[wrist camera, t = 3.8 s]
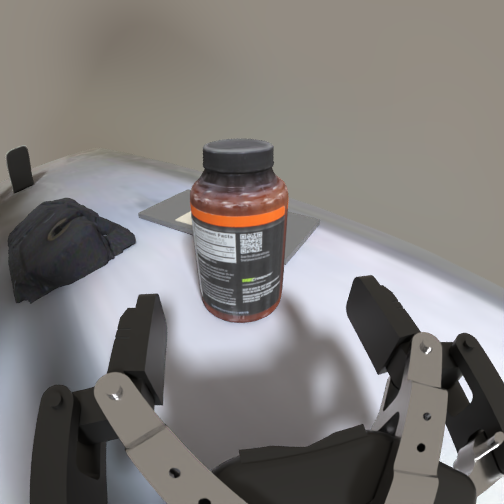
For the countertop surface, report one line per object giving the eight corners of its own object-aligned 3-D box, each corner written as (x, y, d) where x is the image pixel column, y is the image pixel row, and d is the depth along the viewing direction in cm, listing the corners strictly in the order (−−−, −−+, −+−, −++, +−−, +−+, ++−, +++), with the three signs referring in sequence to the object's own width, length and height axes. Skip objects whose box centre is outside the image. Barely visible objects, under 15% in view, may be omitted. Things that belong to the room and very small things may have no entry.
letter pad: (138, 217, 33) (138, 212, 33) (188, 193, 40) (188, 188, 40) (285, 264, 25) (285, 258, 24) (319, 224, 32) (320, 218, 31)
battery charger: (32, 182, 55) (25, 143, 49) (35, 184, 53) (27, 143, 47) (11, 192, 50) (3, 152, 44) (13, 194, 49) (4, 152, 43)
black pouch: (83, 205, 39) (77, 178, 37) (146, 250, 27) (138, 208, 25) (5, 242, 29) (-4, 214, 27) (20, 320, 17) (-3, 277, 15)
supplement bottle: (242, 266, 24) (242, 133, 18) (296, 298, 21) (313, 145, 15) (186, 297, 21) (167, 145, 15) (239, 341, 17) (235, 159, 11)
